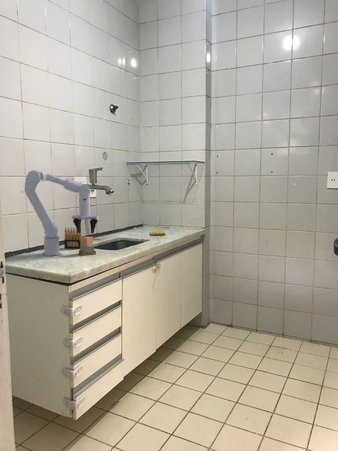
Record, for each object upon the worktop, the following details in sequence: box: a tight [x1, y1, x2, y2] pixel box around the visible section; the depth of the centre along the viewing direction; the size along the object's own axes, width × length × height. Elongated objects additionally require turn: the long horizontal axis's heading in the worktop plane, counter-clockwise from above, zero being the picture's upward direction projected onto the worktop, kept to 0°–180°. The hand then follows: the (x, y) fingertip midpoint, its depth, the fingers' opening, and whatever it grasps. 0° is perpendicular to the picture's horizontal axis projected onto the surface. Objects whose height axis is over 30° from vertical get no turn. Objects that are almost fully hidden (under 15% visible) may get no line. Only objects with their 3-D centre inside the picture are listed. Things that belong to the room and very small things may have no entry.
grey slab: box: [79, 245, 95, 252], centre depth 196 cm, size 6×6×2 cm
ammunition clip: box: [63, 227, 82, 250], centre depth 212 cm, size 11×2×12 cm, turn 74°
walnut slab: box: [78, 249, 97, 257], centre depth 197 cm, size 7×7×2 cm
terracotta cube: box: [80, 235, 94, 247], centre depth 196 cm, size 4×4×4 cm
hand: (85, 232), depth 200 cm, fingers open, 7 cm apart
